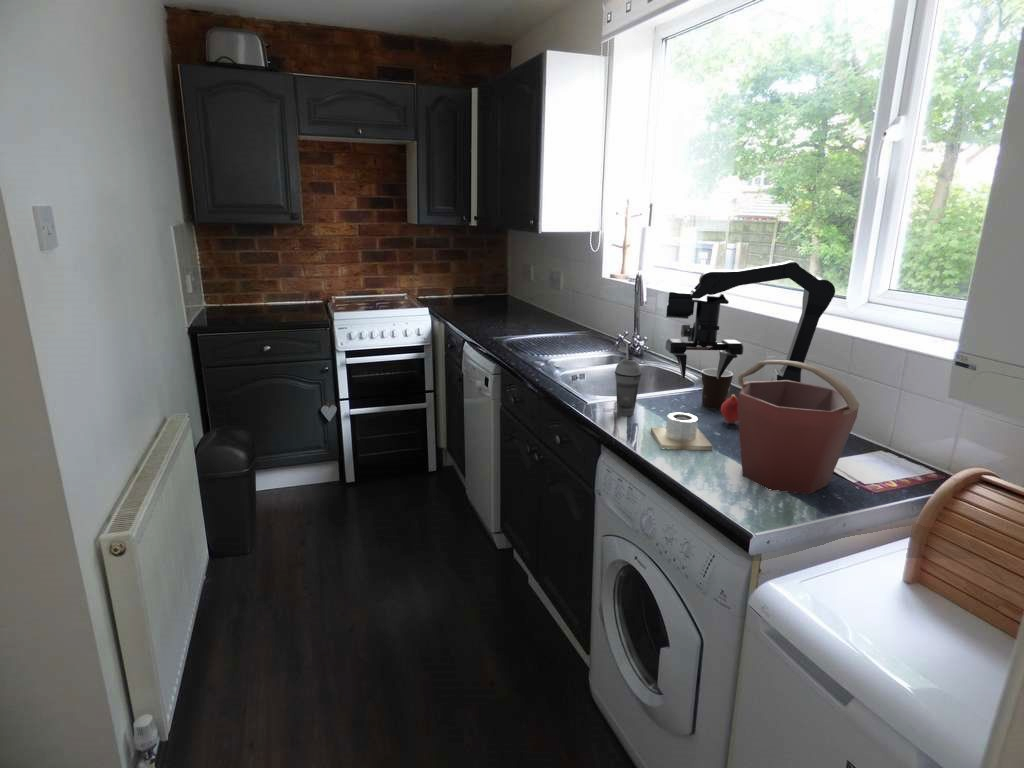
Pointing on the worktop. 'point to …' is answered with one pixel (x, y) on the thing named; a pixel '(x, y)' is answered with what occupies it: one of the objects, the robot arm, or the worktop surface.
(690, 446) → the post board
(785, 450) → the bucket
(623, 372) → the beverage cup
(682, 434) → the steel ring
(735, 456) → the worktop surface
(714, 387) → the coffee mug
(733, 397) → the onion
